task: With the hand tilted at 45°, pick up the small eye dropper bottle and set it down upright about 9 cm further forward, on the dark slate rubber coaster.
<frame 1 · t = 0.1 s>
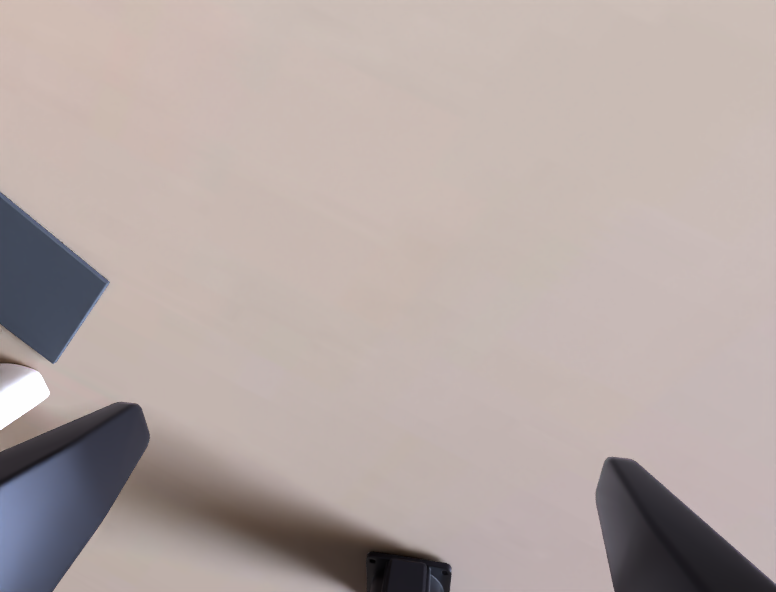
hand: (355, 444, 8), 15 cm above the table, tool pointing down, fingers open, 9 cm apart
eye dropper bottle: (20, 379, 30), on the table
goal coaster: (22, 277, 26), on the table
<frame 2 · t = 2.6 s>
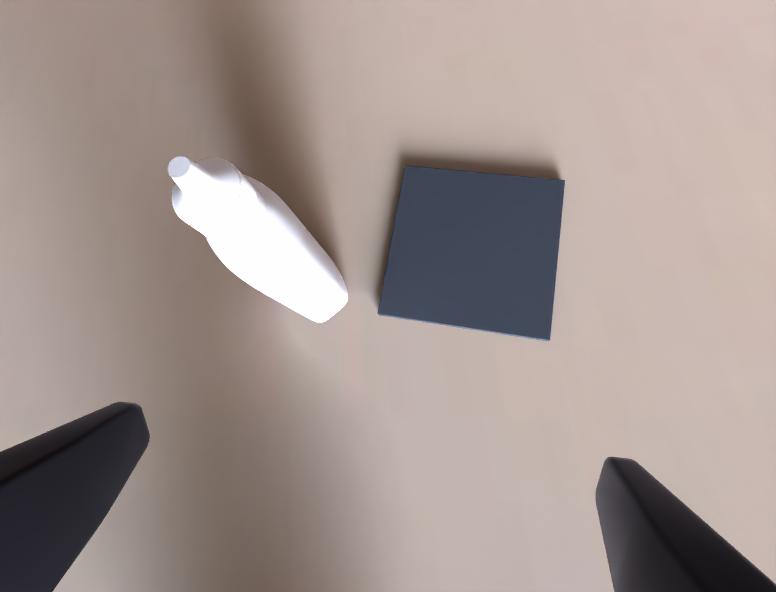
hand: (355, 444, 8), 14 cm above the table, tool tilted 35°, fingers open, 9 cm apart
eye dropper bottle: (309, 279, 24), on the table
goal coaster: (471, 248, 23), on the table
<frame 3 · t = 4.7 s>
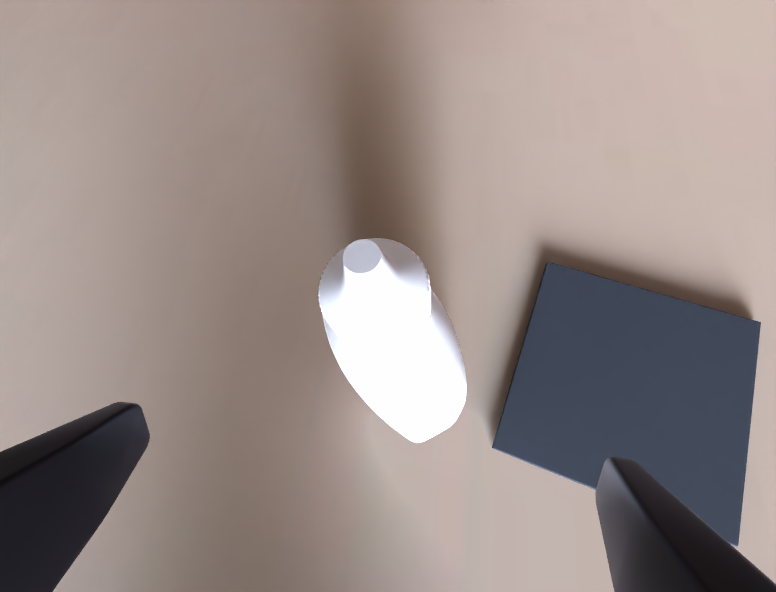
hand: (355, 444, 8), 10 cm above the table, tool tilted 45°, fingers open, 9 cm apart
eye dropper bottle: (406, 378, 19), on the table
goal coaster: (626, 384, 17), on the table
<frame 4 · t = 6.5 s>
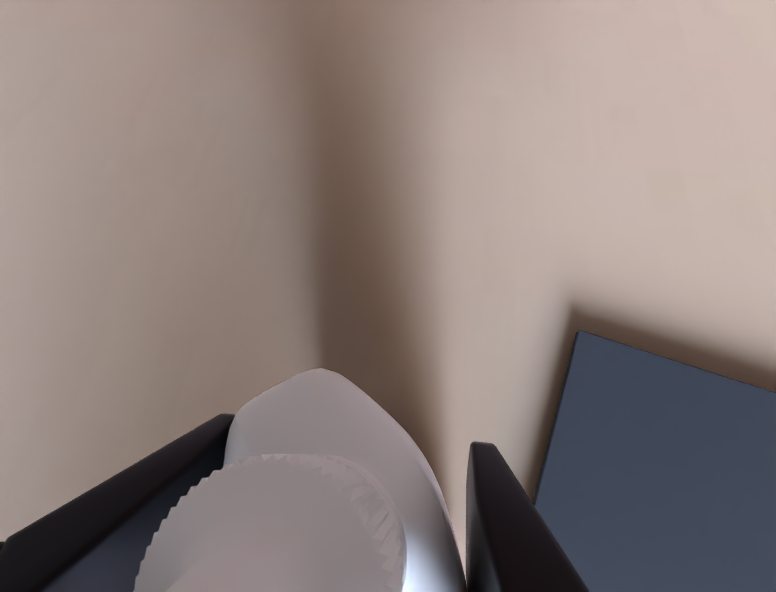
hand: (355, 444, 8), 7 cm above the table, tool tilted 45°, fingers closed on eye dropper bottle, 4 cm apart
eye dropper bottle: (386, 493, 14), on the table, touching gripper
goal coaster: (695, 516, 12), on the table
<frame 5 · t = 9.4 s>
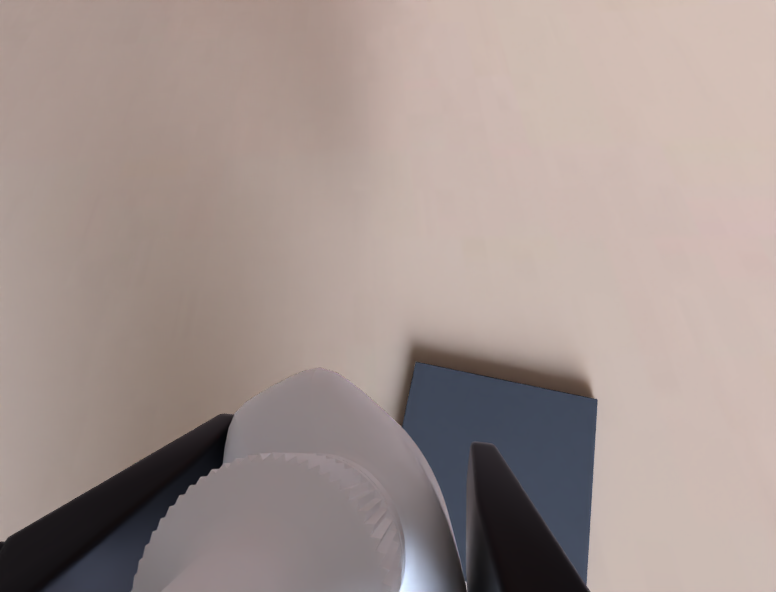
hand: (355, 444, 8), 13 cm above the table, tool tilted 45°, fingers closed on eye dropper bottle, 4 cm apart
eye dropper bottle: (386, 493, 14), point 7 cm above the table, touching gripper
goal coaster: (489, 473, 19), on the table
when the fingers open (7 cm above the table, at t = 12.3 s): eye dropper bottle stays where it is, resting on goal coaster.
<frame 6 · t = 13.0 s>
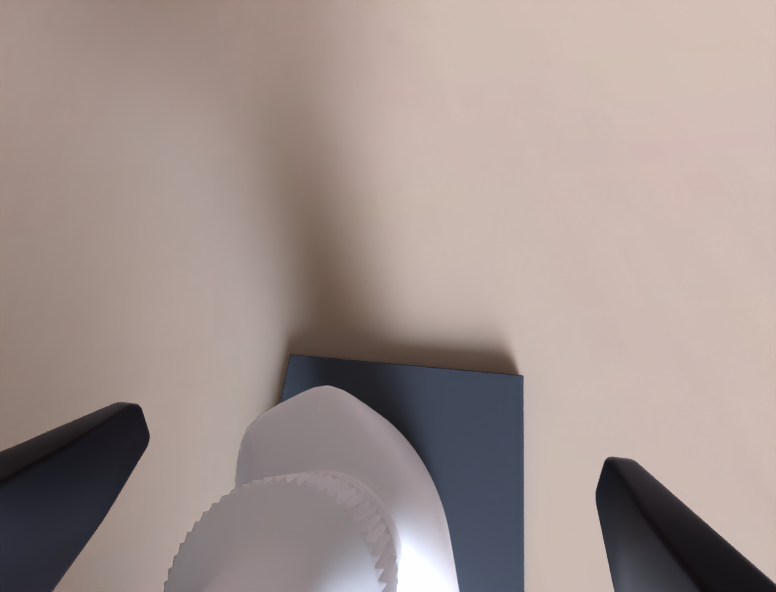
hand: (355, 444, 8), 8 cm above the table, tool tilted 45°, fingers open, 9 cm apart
eye dropper bottle: (387, 499, 14), resting on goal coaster
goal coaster: (389, 492, 14), on the table
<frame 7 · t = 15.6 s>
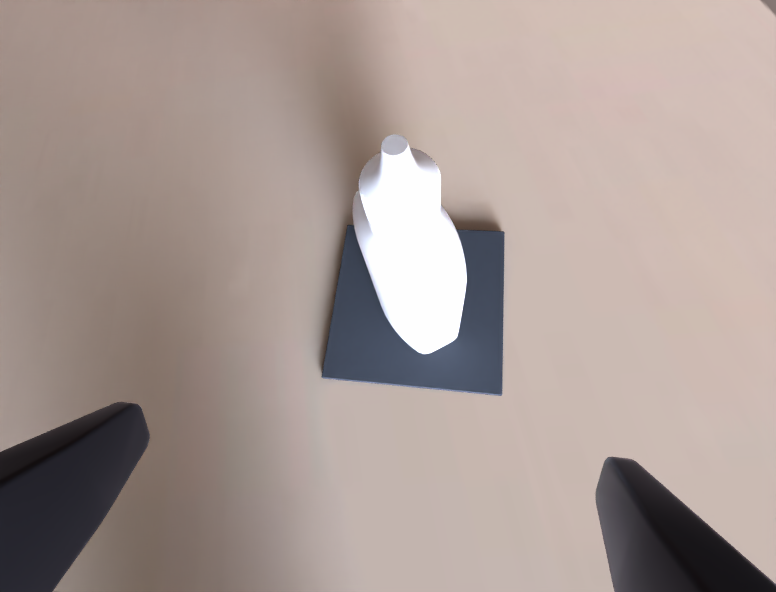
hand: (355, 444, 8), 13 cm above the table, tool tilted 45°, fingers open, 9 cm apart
eye dropper bottle: (415, 305, 22), resting on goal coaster
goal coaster: (417, 303, 22), on the table
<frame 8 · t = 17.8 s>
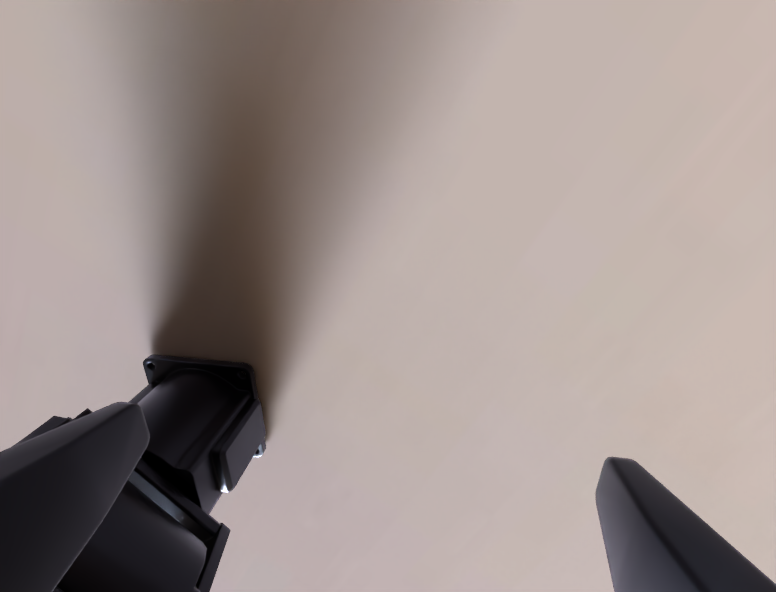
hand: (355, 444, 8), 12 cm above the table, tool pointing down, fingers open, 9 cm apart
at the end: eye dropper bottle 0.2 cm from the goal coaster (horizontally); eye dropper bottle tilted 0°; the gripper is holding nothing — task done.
